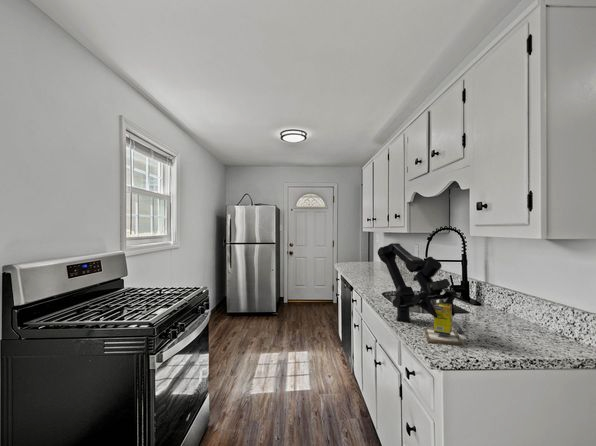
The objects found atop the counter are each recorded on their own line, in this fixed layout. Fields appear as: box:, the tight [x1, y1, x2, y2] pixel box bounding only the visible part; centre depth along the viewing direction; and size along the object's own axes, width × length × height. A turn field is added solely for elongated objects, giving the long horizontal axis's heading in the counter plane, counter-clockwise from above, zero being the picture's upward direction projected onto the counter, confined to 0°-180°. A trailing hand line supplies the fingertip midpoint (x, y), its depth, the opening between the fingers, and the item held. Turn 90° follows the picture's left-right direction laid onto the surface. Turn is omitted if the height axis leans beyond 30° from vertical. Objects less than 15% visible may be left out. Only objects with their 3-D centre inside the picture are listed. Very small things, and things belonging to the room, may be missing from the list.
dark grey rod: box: [452, 321, 464, 335], centre depth 140 cm, size 13×2×2 cm, turn 164°
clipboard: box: [423, 326, 463, 346], centre depth 130 cm, size 16×12×2 cm
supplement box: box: [433, 302, 453, 335], centre depth 130 cm, size 6×6×11 cm
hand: (445, 316), depth 128 cm, fingers closed on supplement box, 8 cm apart
